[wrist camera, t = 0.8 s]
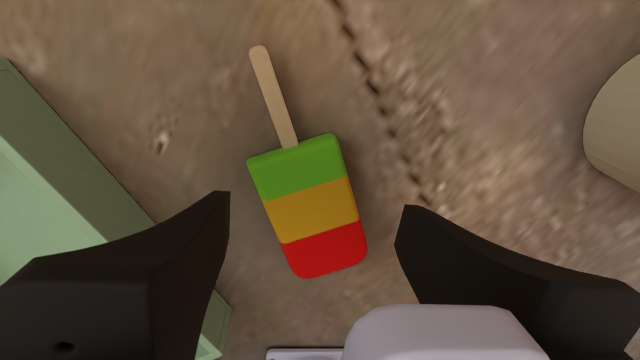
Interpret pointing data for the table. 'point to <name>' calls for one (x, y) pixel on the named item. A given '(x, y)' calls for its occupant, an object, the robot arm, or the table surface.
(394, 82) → the table surface
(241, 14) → the table surface
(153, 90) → the table surface
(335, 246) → the popsicle
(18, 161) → the tote
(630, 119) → the reusable coffee cup
